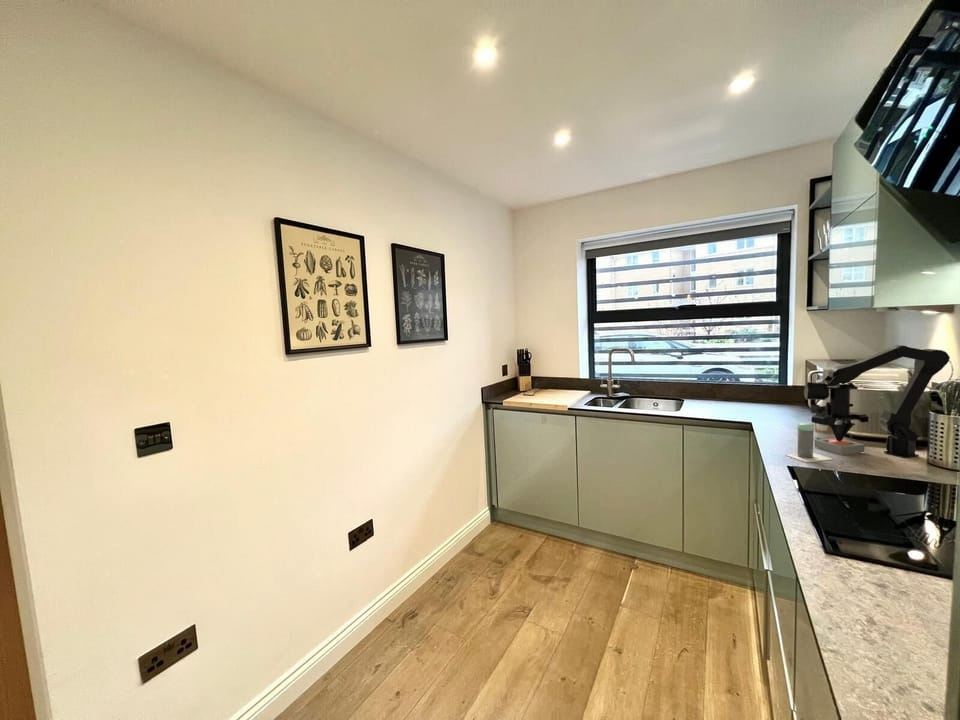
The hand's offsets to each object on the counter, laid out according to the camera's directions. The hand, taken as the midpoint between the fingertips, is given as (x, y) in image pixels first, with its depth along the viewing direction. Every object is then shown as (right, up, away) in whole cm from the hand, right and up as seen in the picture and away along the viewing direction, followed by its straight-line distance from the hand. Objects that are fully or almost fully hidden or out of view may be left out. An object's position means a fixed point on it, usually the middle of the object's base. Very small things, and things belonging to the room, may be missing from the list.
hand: (839, 440), depth 150 cm
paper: (-17, -5, -7) cm, 19 cm away
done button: (0, -4, 0) cm, 4 cm away
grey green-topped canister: (-18, -4, -6) cm, 20 cm away
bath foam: (+8, -2, +15) cm, 18 cm away
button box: (0, -4, 0) cm, 4 cm away
